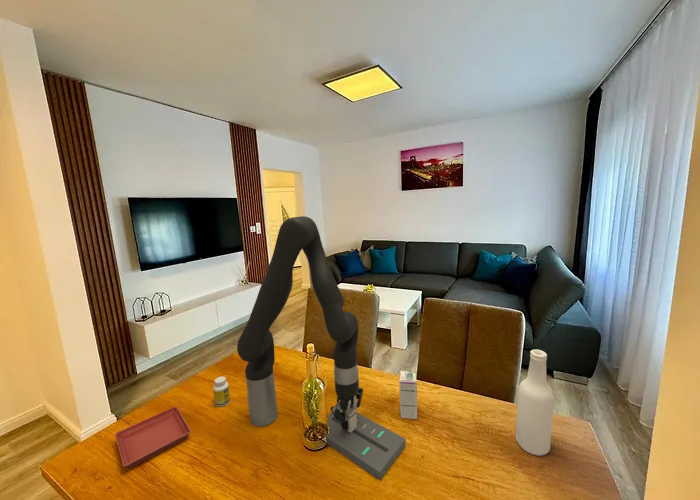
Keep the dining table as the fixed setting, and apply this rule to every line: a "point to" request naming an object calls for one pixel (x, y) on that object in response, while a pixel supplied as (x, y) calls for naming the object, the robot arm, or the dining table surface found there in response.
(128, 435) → the plant saucer
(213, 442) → the dining table surface
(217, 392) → the supplement bottle
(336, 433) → the console
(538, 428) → the alcohol
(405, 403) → the syrup box
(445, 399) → the dining table surface
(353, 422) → the fader tab
